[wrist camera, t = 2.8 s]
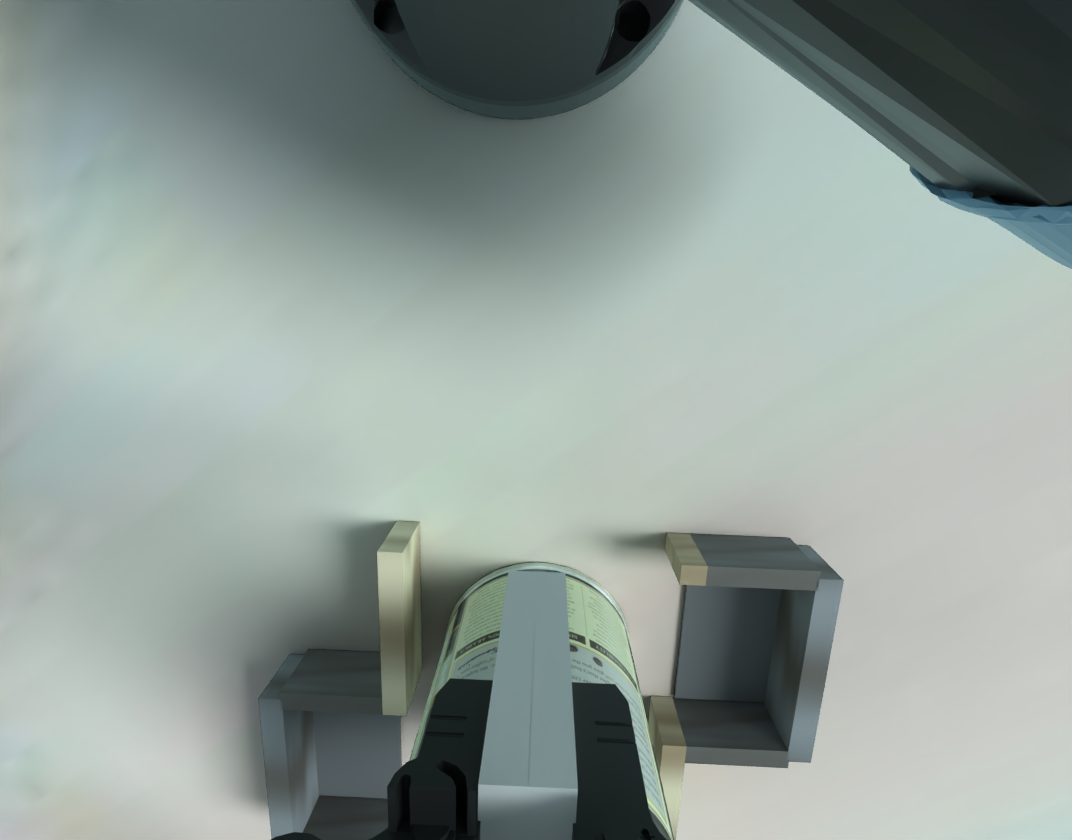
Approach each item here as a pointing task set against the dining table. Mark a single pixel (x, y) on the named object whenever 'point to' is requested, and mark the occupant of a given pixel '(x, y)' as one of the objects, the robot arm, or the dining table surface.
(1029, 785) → the dining table surface
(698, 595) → the mats
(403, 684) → the channel
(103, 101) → the dining table surface
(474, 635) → the coffee can
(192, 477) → the dining table surface
